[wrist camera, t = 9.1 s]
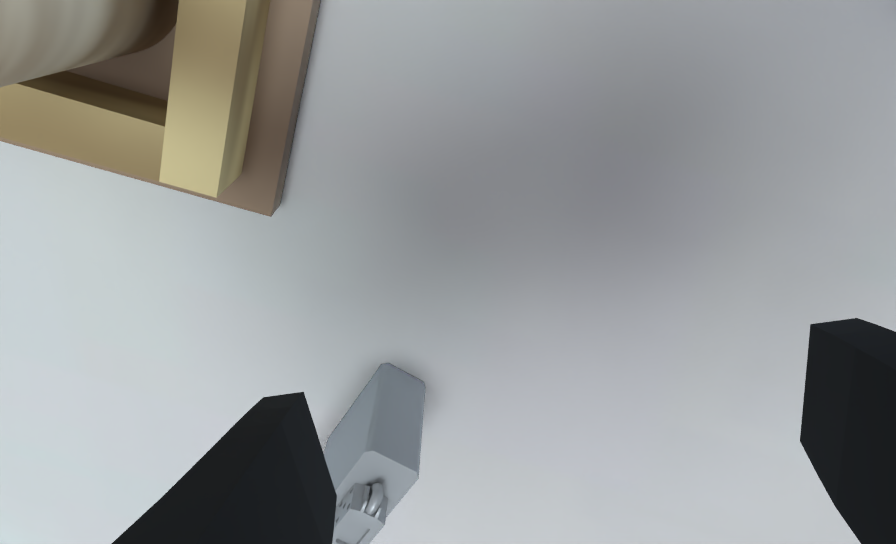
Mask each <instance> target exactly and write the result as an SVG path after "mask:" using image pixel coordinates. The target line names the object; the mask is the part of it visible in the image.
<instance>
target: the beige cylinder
mask: <svg viewBox="0 0 896 544" xmlns="http://www.w3.org/2000/svg"><path fill="white" fill-rule="evenodd" d="M178 5H179V0H0V87H3V86H7V85H11V84H15V83H19V82H23V81H27V80H31V79H34V78H38V77H42V76H46V75H50V74H54V73H58V72H62V71H66V70H69V69H73V68H77V67H81V66H85V65H89V64H93V63H97V62H101V61H104V60H108V59H112V58H116V57H120V56H124V55H128V54H132V53H136V52H139V51H142V50H145V49H148V48H150V47H152V46H154V45H156V44H157V43H158V42H160V41H161V40H162V39H164V38H165V37H166V36H167V35H168V34H169V33H170V32H171V30H172V29H173V27H174V26H175V25H176V23H177V14H178Z"/></svg>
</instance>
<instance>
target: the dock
mask: <svg viewBox="0 0 896 544" xmlns="http://www.w3.org/2000/svg"><path fill="white" fill-rule="evenodd" d="M320 1H321V0H179V5H178V14H177V23H176V25H175V26H174V27H173V29H172V30H171V32H170V33H169V34H168V35H167V36H166V37H165V38H164V39H162V40H161V41H160V42H158V43H157V44H156V45H154V46H152V47H150V48H148V49H145V50H142V51H139V52H136V53H132V54H128V55H124V56H120V57H116V58H112V59H108V60H104V61H101V62H97V63H93V64H89V65H85V66H81V67H77V68H73V69H69V70H66V71H62V72H58V73H54V74H50V75H46V76H42V77H38V78H34V79H31V80H27V81H23V82H19V83H15V84H11V85H7V86H3V87H0V141H3V142H6V143H10V144H13V145H17V146H20V147H24V148H27V149H31V150H35V151H38V152H42V153H45V154H49V155H52V156H56V157H60V158H63V159H67V160H70V161H74V162H77V163H81V164H85V165H88V166H92V167H95V168H99V169H102V170H106V171H110V172H113V173H117V174H120V175H124V176H127V177H131V178H135V179H138V180H142V181H145V182H149V183H152V184H156V185H160V186H163V187H167V188H170V189H174V190H177V191H181V192H184V193H188V194H192V195H195V196H199V197H202V198H206V199H209V200H213V201H217V202H220V203H224V204H227V205H231V206H234V207H238V208H242V209H245V210H249V211H252V212H256V213H259V214H263V215H267V216H270V217H271V216H272V215H273V213H274V212H275V211H276V209H277V208H278V207H279V205H280V202H281V197H282V192H283V187H284V182H285V176H286V171H287V166H288V161H289V156H290V151H291V146H292V141H293V136H294V131H295V126H296V121H297V116H298V111H299V106H300V101H301V96H302V91H303V86H304V81H305V76H306V71H307V66H308V61H309V56H310V51H311V46H312V41H313V36H314V31H315V26H316V21H317V16H318V11H319V6H320Z"/></svg>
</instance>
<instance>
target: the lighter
mask: <svg viewBox="0 0 896 544" xmlns="http://www.w3.org/2000/svg"><path fill="white" fill-rule="evenodd" d="M424 398H425V385H424V382H423V381H421V380H419V379H417V378H415V377H414V376H412V375H410V374H408V373H406V372H404V371H402V370H401V369H399V368H397V367H395V366H393V365H391V364H389V363H386V364H381V366H380V367H379V369H378V370H377V371H376V373H375V374H374V376H373V377H372V378H371V380H370V381H369V382H368V384H367V385H366V387H365V388H364V389H363V391H362V392H361V394H360V395H359V396H358V398H357V399H356V401H355V402H354V403H353V405H352V406H351V407H350V409H349V410H348V412H347V413H346V414H345V416H344V417H343V419H342V420H341V421H340V423H339V424H338V426H337V427H336V428H335V430H334V431H333V433H332V434H331V435H330V437H329V438H328V441H327V445H326V448H325V452H324V457H325V460H326V464H327V467H328V470H329V473H330V476H331V479H332V482H333V485H334V489H335V492H336V495H337V501H336V511H335V522H334V532H333V541H332V544H369V543H370V542H371V541H372V540H373V538H374V537H375V536H376V535H377V534H378V532H379V531H380V530H381V529H382V528H383V526H384V525H385V519H386V517H387V516H388V515H389V513H390V512H391V511H392V510H393V509H394V507H395V506H396V505H397V504H398V503H399V501H400V500H401V499H402V498H403V497H404V495H405V494H406V493H407V492H408V491H409V489H410V488H411V487H412V486H413V484H414V483H415V482H416V481H417V480H418V477H419V464H420V451H421V438H422V425H423V411H424Z"/></svg>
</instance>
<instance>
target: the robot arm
mask: <svg viewBox="0 0 896 544" xmlns="http://www.w3.org/2000/svg"><path fill="white" fill-rule="evenodd" d="M800 442H801V444H802V446H803V447H804V449H805V451H806V453H807V455H808V457H809V459H810V461H811V463H812V465H813V467H814V469H815V471H816V473H817V475H818V477H819V478H820V480H821V482H822V484H823V485H824V487H825V489H826V491H827V493H828V494H829V496H830V498H831V500H832V502H833V503H834V505H835V507H836V508H837V510H838V511H839V513H840V514H841V516H842V517H843V518H844V520H845V521H846V523H847V524H848V526H849V527H850V528H851V530H852V531H853V533H854V534H855V535H856V537H857V538H858V540H859V541H860V543H861V544H896V332H894V331H892V330H889V329H886V328H884V327H881V326H878V325H876V324H873V323H870V322H867V321H864V320H861V319H858V318H855V319H847V320H840V321H832V322H825V323H817V324H811V326H810V337H809V348H808V359H807V370H806V381H805V392H804V403H803V414H802V425H801V436H800ZM336 501H337V495H336V492H335V489H334V485H333V482H332V479H331V476H330V473H329V470H328V467H327V464H326V460H325V457H324V454H323V451H322V448H321V445H320V442H319V439H318V435H317V432H316V429H315V426H314V423H313V420H312V417H311V414H310V411H309V407H308V404H307V401H306V398H305V395H304V392H300V393H293V394H285V395H278V396H270V397H264V398H262V399H261V400H260V401H259V402H258V403H257V404H256V405H254V406H253V407H252V408H251V409H250V410H249V411H248V412H247V413H246V414H245V415H244V416H243V417H242V418H241V419H240V420H239V421H238V422H237V423H236V424H235V425H234V426H233V427H232V428H231V429H230V430H229V431H228V432H227V433H226V434H225V435H224V436H223V437H222V438H221V439H220V440H219V441H218V442H217V443H216V444H215V445H214V446H213V447H212V448H211V449H210V450H209V451H208V452H207V453H206V454H205V455H204V456H203V457H202V458H201V459H200V460H199V461H198V462H197V463H196V464H195V465H194V466H193V467H192V468H191V469H190V470H189V471H188V472H187V473H186V474H185V475H184V476H183V477H182V478H181V479H180V480H179V481H178V482H177V483H176V484H175V485H174V486H173V487H172V488H171V489H170V490H169V491H168V492H167V493H166V494H165V495H164V496H163V497H162V498H161V499H160V500H159V501H157V502H156V503H155V504H154V505H153V506H152V507H151V508H150V509H149V510H148V511H147V512H146V513H144V514H143V515H142V516H141V517H140V518H139V519H138V520H137V521H136V522H135V523H134V524H132V525H131V526H130V527H129V528H128V529H127V530H126V531H125V532H124V533H123V534H122V535H121V536H119V537H118V538H117V539H116V540H115V541H114V542H113V543H112V544H332V541H333V532H334V522H335V511H336Z"/></svg>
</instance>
